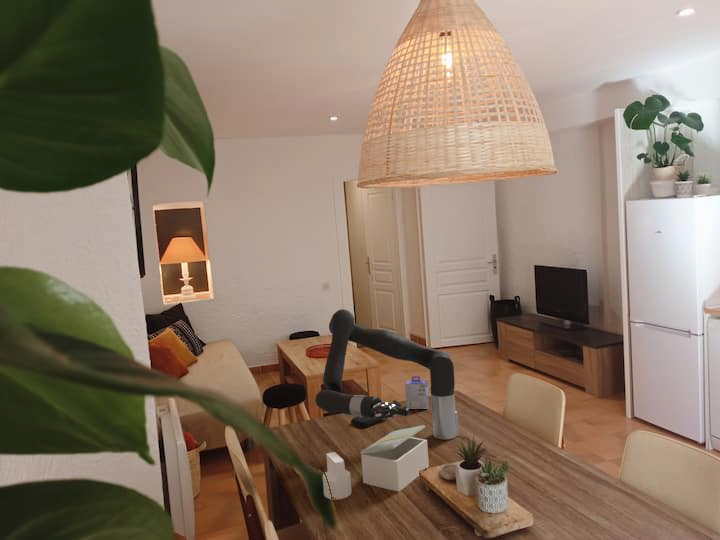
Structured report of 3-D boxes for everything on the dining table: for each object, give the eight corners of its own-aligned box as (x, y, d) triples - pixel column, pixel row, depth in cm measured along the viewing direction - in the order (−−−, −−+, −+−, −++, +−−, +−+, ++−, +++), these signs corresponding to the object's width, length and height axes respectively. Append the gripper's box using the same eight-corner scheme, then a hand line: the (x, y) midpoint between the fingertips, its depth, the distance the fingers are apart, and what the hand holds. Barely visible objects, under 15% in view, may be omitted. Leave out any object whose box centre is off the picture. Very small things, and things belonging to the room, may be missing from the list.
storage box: (363, 483, 197) (361, 454, 196) (394, 460, 213) (393, 433, 212) (398, 491, 189) (396, 461, 188) (428, 467, 205) (427, 440, 204)
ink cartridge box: (429, 406, 270) (427, 375, 269) (428, 410, 265) (426, 378, 264) (407, 406, 272) (405, 375, 271) (406, 410, 267) (404, 379, 266)
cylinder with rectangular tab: (320, 490, 194) (317, 455, 193) (345, 484, 197) (342, 449, 196) (329, 502, 185) (326, 465, 184) (355, 494, 189) (353, 458, 188)
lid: (360, 454, 196) (360, 451, 196) (393, 433, 212) (392, 430, 212) (393, 448, 188) (392, 445, 188) (425, 427, 204) (424, 424, 204)
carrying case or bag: (365, 430, 246) (390, 421, 255) (364, 423, 246) (390, 414, 255) (349, 425, 254) (374, 415, 263) (348, 418, 254) (373, 409, 263)
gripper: (353, 402, 200) (396, 407, 190) (374, 390, 210) (417, 395, 200) (355, 423, 200) (398, 430, 190) (376, 410, 211) (419, 416, 201)
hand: (408, 412), depth 195 cm, fingers closed
